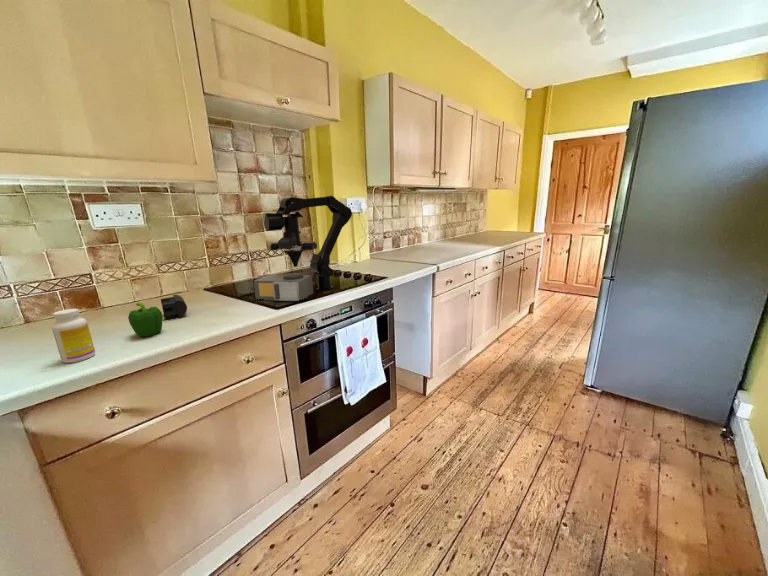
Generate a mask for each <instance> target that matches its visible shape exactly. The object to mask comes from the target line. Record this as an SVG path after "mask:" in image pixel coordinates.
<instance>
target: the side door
mask: <svg viewBox="0 0 768 576" xmlns="http://www.w3.org/2000/svg"><path fill="white" fill-rule="evenodd" d="M273 291H274V299H275V300H274V301H281V302H282V301H284V302H285V301H287V302H290V301H291V302H300V301H299V300H300V294H299V284H298V282H273Z"/></svg>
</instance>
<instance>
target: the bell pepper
mask: <svg viewBox="0 0 768 576" xmlns="http://www.w3.org/2000/svg"><path fill="white" fill-rule="evenodd" d="M135 305H136V306H137V307H139V309H137V310H135V309H134V310H130V311H129V314H128V317H127V318H128V323H129V325H130V327H131V329H132V330H133V331H134V333H135V334H136V335H137V336H138V337H140V338H148V337H151V336H154V335H155V334H158V333H161V332H162V328H163V317H164V316H163V313H162V312H163V311H161V310H160V308H158V307H157V306H151V307H149V308H146V306H145V304H144V303H142V302H136V303H135Z"/></svg>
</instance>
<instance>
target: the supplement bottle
mask: <svg viewBox="0 0 768 576" xmlns="http://www.w3.org/2000/svg"><path fill="white" fill-rule="evenodd" d="M53 318H54V320H55V321H56V322H54V323H53V324H52V326H51V330H52V333H53V337H54V341H55V343H56V347H57V350H58V354H59V358H60V359H61V361H62V362H63V363H67V364H69V363H71V364H72V363H79V362H81V361H85V360H88V359H89V358H91V357H93V356H94V355H95V354H96V348H95V346H94V343H93V338H92V335H91V332H90V331H91V330H90V328H89V325H88V321H87V319H85V318H83V317H80V310H79V309H78V308H69V309H62V310H59V311H55V312H53Z"/></svg>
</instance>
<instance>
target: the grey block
mask: <svg viewBox="0 0 768 576" xmlns="http://www.w3.org/2000/svg"><path fill="white" fill-rule="evenodd" d="M273 282H298V284H299V294H300V300H302V299H303V300H305V299H307V298H308V297H309V295H310V296H312V295H313V294H314V292H315V291H314V283H313V275H312V274H303V273H301V272H293V273H287V274H267V275H265V276H263V277H260V278H257V279H253V286H254V287H253V288H254V294H255V300H256V301H258V300H259V299H264V300H263V301H276V300H275V299H274V291H273ZM304 298H305V299H304ZM257 299H258V300H257ZM303 300H302V301H303ZM259 301H260V300H259Z"/></svg>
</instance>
